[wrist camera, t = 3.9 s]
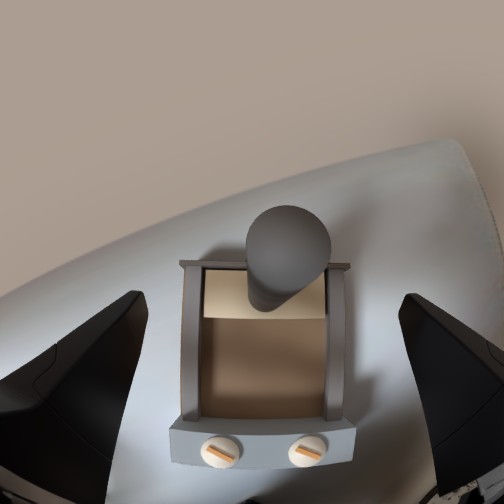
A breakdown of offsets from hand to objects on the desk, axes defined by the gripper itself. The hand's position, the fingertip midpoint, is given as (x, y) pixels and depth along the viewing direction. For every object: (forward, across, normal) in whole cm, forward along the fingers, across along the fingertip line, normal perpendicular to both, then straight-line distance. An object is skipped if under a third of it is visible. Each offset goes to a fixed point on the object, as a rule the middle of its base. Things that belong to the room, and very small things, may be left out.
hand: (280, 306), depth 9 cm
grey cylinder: (+8, 0, +6) cm, 9 cm away
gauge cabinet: (+1, 0, +13) cm, 13 cm away
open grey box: (+5, 0, +10) cm, 11 cm away
